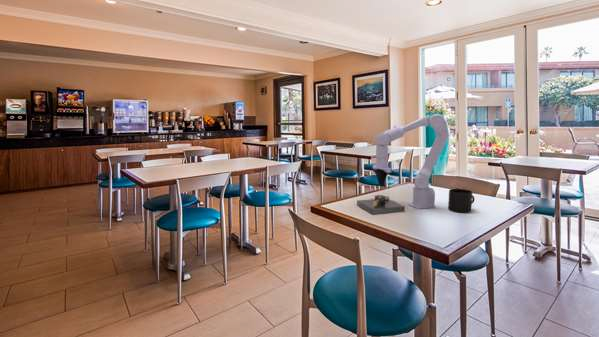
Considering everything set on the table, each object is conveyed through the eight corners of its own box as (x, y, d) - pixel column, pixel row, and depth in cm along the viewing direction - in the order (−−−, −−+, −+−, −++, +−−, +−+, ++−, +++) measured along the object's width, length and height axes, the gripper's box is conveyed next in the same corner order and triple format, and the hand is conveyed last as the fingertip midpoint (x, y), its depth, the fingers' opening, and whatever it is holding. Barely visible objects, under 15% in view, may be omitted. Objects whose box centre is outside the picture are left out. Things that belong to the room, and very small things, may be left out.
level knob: (376, 200, 154) (376, 194, 153) (386, 202, 151) (386, 195, 151) (369, 205, 145) (369, 199, 145) (380, 207, 143) (380, 200, 142)
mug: (481, 212, 143) (482, 192, 141) (457, 213, 141) (458, 193, 139) (466, 206, 152) (467, 187, 151) (443, 208, 150) (444, 189, 148)
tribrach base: (386, 202, 161) (386, 194, 160) (404, 211, 145) (404, 202, 145) (356, 205, 156) (357, 196, 156) (372, 214, 141) (372, 205, 140)
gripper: (367, 156, 162) (367, 182, 164) (382, 159, 148) (381, 188, 150) (380, 155, 164) (379, 181, 166) (395, 159, 150) (394, 187, 152)
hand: (381, 184), depth 158 cm, fingers closed
